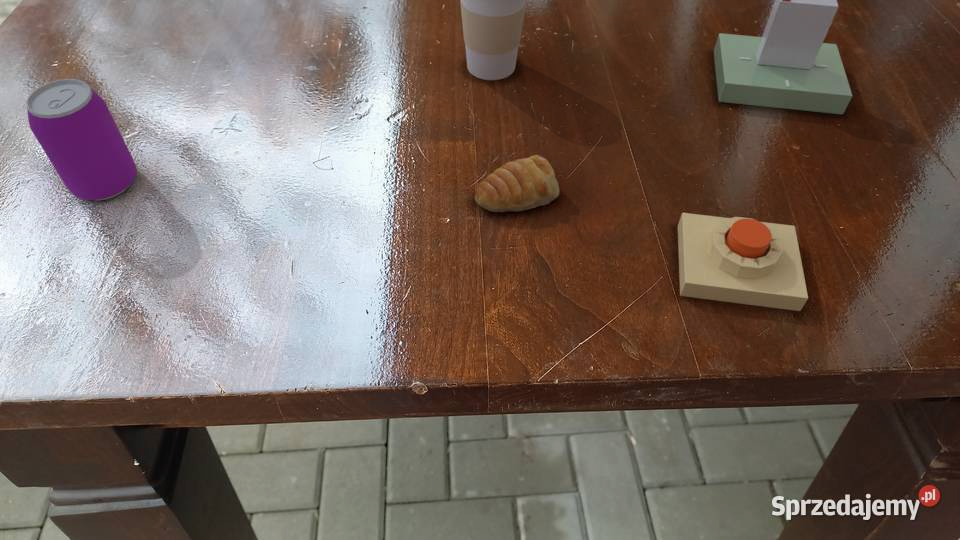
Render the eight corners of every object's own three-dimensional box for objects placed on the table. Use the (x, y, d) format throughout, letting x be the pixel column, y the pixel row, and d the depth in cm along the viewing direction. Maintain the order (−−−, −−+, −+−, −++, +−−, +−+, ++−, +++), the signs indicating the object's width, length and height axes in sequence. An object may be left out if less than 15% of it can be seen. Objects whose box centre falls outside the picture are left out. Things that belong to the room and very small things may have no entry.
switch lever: (808, 60, 93) (836, -5, 86) (811, 69, 92) (839, 4, 85) (755, 55, 94) (778, -10, 87) (756, 64, 92) (780, -1, 85)
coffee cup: (534, 58, 98) (543, -47, 86) (506, 92, 93) (511, -15, 81) (477, 41, 100) (478, -63, 89) (447, 73, 95) (444, -33, 84)
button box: (787, 239, 76) (801, 213, 73) (800, 311, 70) (815, 286, 67) (677, 226, 77) (686, 200, 74) (680, 296, 71) (689, 271, 68)
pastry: (491, 227, 77) (492, 202, 74) (464, 190, 81) (463, 165, 78) (563, 200, 80) (566, 176, 77) (533, 166, 83) (535, 141, 81)
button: (764, 232, 72) (769, 220, 71) (768, 261, 69) (774, 249, 68) (724, 227, 72) (729, 216, 71) (727, 256, 70) (732, 244, 68)
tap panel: (828, 62, 98) (837, 42, 96) (843, 114, 90) (853, 94, 88) (713, 51, 100) (719, 31, 97) (718, 102, 92) (725, 81, 89)
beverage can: (116, 210, 78) (68, 125, 69) (55, 198, 79) (1, 112, 70) (152, 166, 83) (112, 80, 73) (95, 155, 84) (49, 70, 74)
